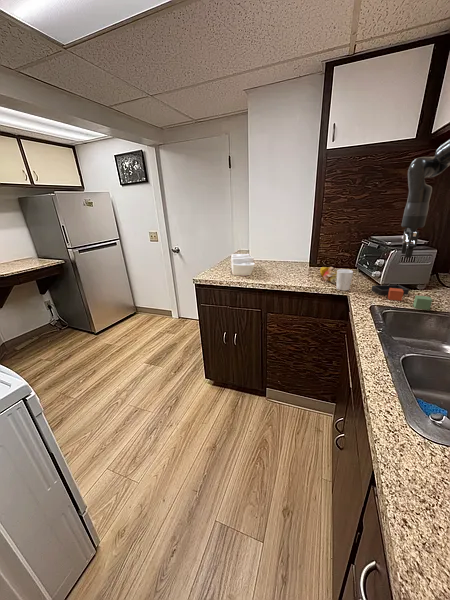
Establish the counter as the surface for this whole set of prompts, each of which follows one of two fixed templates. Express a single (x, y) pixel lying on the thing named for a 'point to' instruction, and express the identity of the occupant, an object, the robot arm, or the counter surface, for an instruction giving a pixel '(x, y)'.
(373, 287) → the dark grey tray
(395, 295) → the orange block
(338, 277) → the white cup
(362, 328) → the counter surface
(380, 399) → the counter surface
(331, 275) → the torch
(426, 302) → the green block
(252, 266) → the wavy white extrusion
